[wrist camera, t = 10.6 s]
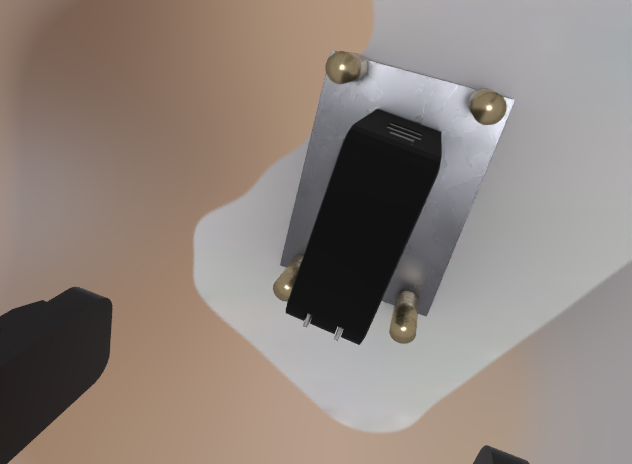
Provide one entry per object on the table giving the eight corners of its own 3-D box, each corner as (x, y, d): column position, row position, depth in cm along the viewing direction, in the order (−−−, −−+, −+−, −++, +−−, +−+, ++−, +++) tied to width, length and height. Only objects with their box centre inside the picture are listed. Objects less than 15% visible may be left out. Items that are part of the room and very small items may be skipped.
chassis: (335, 47, 28) (315, 43, 23) (513, 95, 26) (528, 101, 22) (284, 262, 34) (259, 292, 29) (426, 311, 32) (423, 351, 28)
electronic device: (443, 130, 27) (444, 162, 18) (382, 269, 31) (358, 353, 22) (377, 106, 28) (346, 126, 18) (326, 246, 32) (280, 318, 22)
